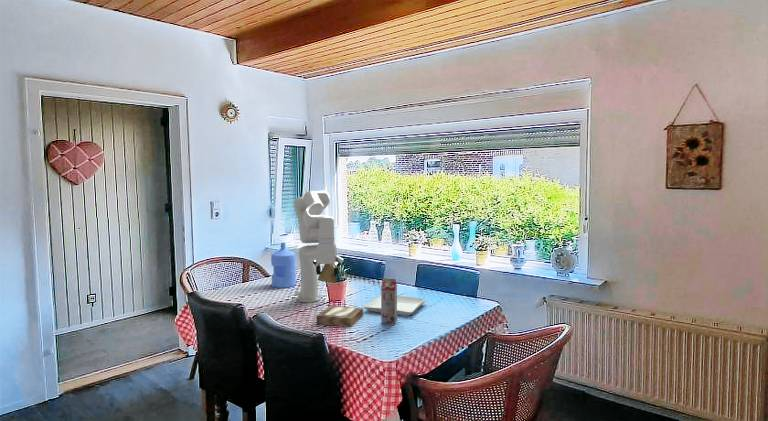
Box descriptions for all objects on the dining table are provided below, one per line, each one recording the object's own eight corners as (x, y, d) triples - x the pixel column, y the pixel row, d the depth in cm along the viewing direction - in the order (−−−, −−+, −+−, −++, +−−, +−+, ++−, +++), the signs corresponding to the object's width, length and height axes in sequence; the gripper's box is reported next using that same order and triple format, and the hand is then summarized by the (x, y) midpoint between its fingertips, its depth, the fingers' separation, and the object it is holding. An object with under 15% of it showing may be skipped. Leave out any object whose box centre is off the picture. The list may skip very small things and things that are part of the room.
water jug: (288, 281, 326) (287, 240, 323) (300, 285, 314) (299, 243, 312) (267, 285, 315) (266, 243, 313) (279, 289, 304) (278, 245, 301)
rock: (342, 278, 239) (338, 271, 248) (333, 265, 236) (328, 259, 245) (325, 291, 238) (321, 284, 247) (315, 279, 234) (311, 272, 244)
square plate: (362, 313, 254) (362, 305, 253) (382, 300, 279) (382, 293, 279) (411, 318, 244) (411, 311, 243) (427, 304, 269) (427, 298, 269)
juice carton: (394, 324, 233) (394, 280, 231) (381, 324, 234) (381, 279, 232) (396, 320, 239) (396, 277, 237) (383, 320, 240) (383, 276, 238)
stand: (316, 323, 235) (316, 315, 235) (330, 313, 252) (330, 305, 252) (351, 326, 230) (351, 318, 230) (362, 315, 247) (362, 307, 247)
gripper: (307, 241, 239) (308, 275, 240) (339, 242, 234) (340, 277, 235) (314, 239, 246) (314, 272, 247) (345, 240, 241) (346, 274, 242)
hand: (327, 274), depth 241 cm, fingers closed on rock, 9 cm apart
